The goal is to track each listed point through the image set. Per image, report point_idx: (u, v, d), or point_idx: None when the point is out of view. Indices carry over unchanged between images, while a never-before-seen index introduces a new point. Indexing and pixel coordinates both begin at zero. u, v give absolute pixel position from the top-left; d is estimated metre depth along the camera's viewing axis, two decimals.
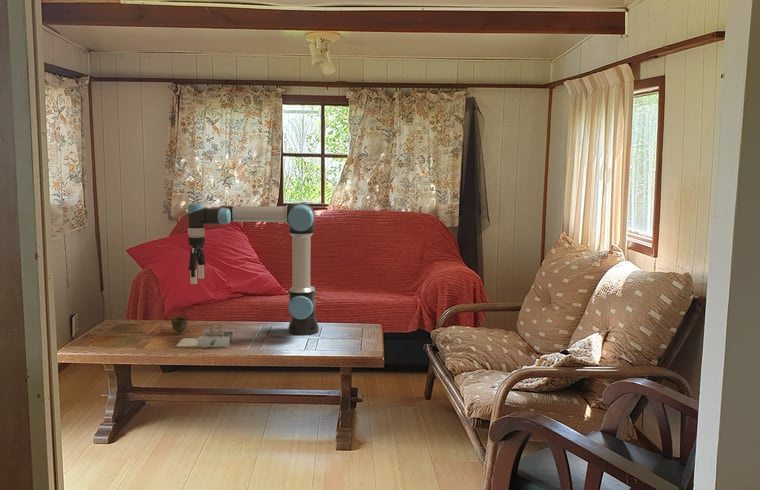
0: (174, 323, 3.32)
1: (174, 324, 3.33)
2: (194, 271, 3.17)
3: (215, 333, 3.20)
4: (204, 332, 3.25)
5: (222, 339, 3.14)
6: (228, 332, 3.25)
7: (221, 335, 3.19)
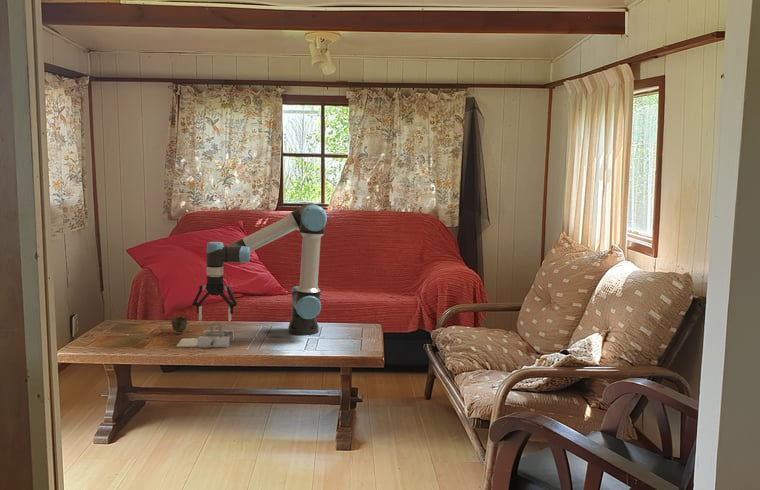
0: (174, 323, 3.32)
1: (174, 324, 3.33)
2: (197, 307, 3.18)
3: (215, 333, 3.20)
4: (204, 332, 3.25)
5: (222, 339, 3.14)
6: (228, 332, 3.25)
7: (221, 335, 3.19)
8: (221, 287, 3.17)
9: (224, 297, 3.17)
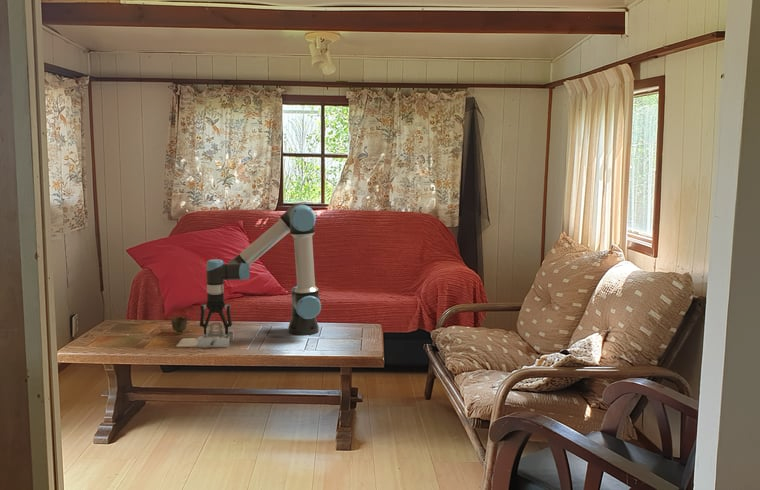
0: (174, 323, 3.32)
1: (174, 324, 3.33)
2: (205, 328, 3.19)
3: (215, 333, 3.20)
4: None
5: (222, 339, 3.14)
6: (228, 332, 3.25)
7: (221, 335, 3.19)
8: (222, 304, 3.18)
9: (222, 316, 3.18)
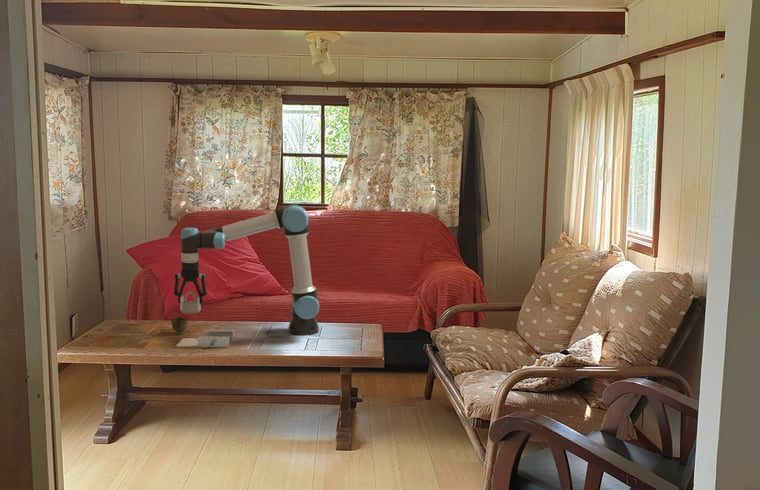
0: (174, 323, 3.32)
1: (174, 324, 3.33)
2: (179, 297, 3.17)
3: (189, 302, 3.18)
4: (204, 332, 3.25)
5: (222, 339, 3.14)
6: (228, 332, 3.25)
7: (195, 304, 3.17)
8: (196, 273, 3.15)
9: (196, 285, 3.16)
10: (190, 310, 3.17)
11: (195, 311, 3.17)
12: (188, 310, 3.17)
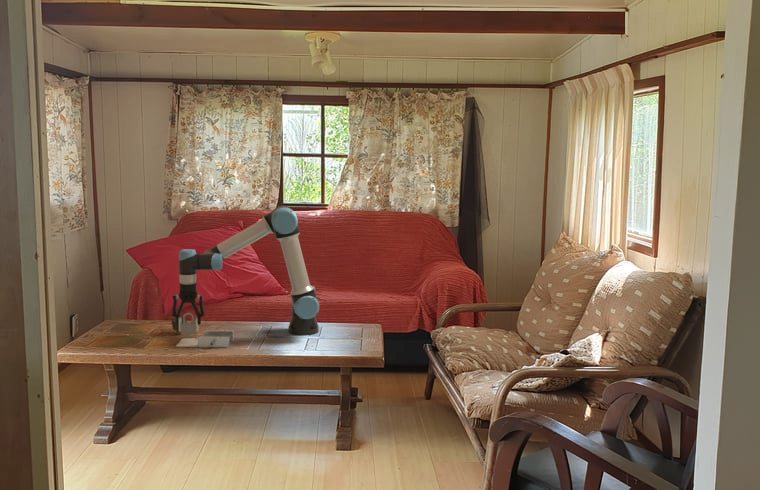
0: (174, 323, 3.32)
1: (174, 324, 3.33)
2: (177, 319, 3.18)
3: (188, 323, 3.19)
4: (204, 332, 3.25)
5: (222, 339, 3.14)
6: (228, 332, 3.25)
7: (193, 325, 3.18)
8: (194, 294, 3.17)
9: (194, 306, 3.17)
10: (189, 331, 3.18)
11: (193, 332, 3.19)
12: (186, 331, 3.18)
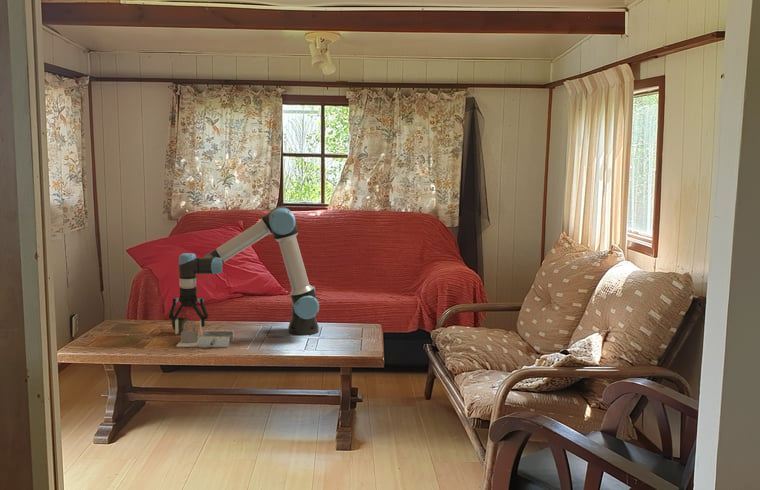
0: None
1: None
2: (174, 321, 3.18)
3: (188, 331, 3.20)
4: (204, 332, 3.25)
5: (222, 339, 3.14)
6: (228, 332, 3.25)
7: (194, 333, 3.19)
8: (194, 298, 3.17)
9: (196, 309, 3.18)
10: (189, 339, 3.19)
11: (194, 340, 3.19)
12: (186, 339, 3.19)
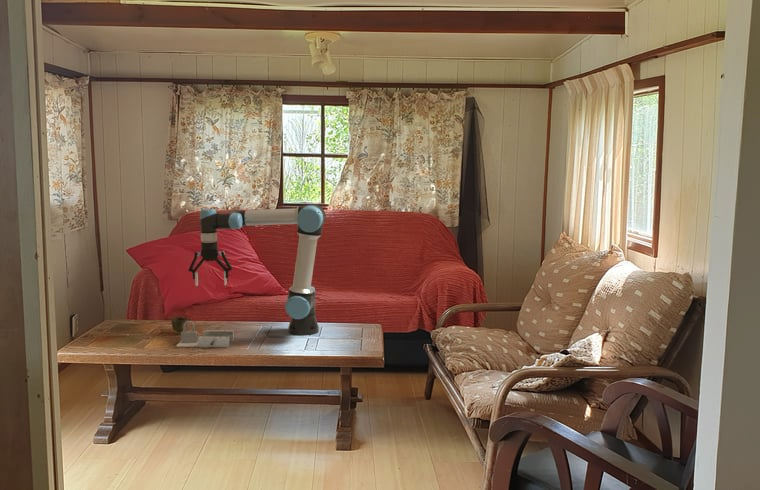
0: (174, 323, 3.32)
1: (174, 324, 3.33)
2: (193, 273, 3.28)
3: (188, 331, 3.20)
4: (204, 332, 3.25)
5: (222, 339, 3.14)
6: (228, 332, 3.25)
7: (194, 333, 3.19)
8: (216, 252, 3.27)
9: (219, 262, 3.27)
10: (189, 339, 3.19)
11: (194, 340, 3.19)
12: (186, 339, 3.19)
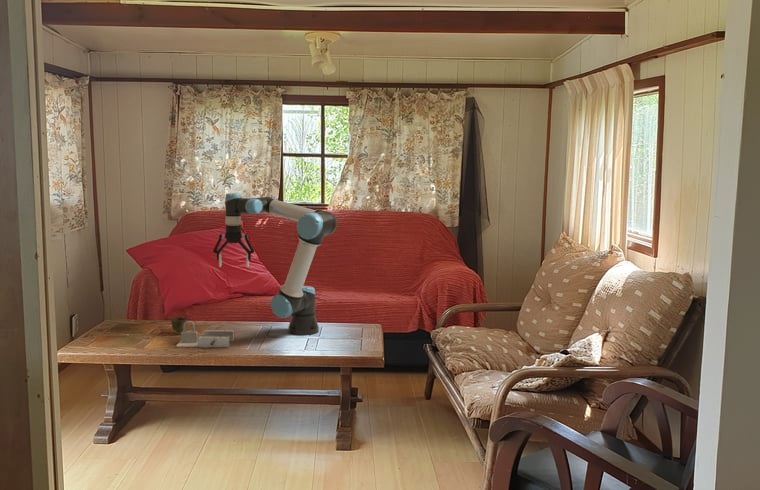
0: (174, 323, 3.32)
1: (174, 324, 3.33)
2: (217, 255, 3.42)
3: (188, 331, 3.20)
4: (204, 332, 3.25)
5: (222, 339, 3.14)
6: (228, 332, 3.25)
7: (194, 333, 3.19)
8: (239, 235, 3.41)
9: (242, 244, 3.41)
10: (189, 339, 3.19)
11: (194, 340, 3.19)
12: (186, 339, 3.19)
